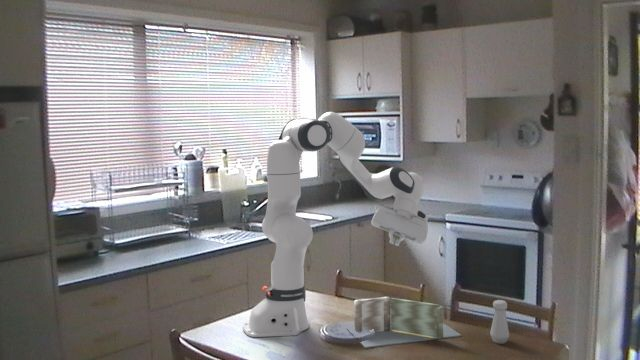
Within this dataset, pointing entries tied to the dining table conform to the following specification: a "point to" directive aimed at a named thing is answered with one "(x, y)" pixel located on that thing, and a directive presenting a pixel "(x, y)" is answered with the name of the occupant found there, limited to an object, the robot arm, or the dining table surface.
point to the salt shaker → (499, 323)
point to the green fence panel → (417, 317)
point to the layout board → (403, 337)
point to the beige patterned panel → (372, 314)
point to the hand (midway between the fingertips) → (394, 243)
